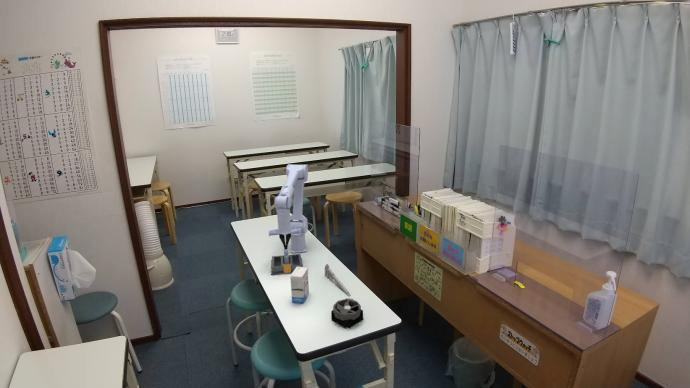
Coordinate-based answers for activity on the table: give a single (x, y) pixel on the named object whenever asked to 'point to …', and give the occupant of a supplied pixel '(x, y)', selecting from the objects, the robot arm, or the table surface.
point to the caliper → (335, 279)
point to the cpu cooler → (347, 312)
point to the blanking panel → (286, 257)
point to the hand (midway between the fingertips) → (285, 248)
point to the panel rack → (282, 268)
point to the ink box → (299, 284)
